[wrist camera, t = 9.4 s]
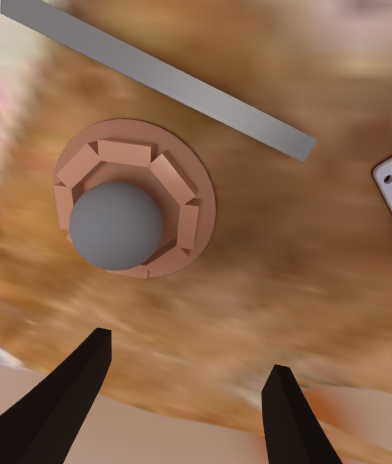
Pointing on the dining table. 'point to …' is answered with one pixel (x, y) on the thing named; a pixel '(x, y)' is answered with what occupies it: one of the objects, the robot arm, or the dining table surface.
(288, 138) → the low wall
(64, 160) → the bowl
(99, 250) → the ball
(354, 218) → the dining table surface
